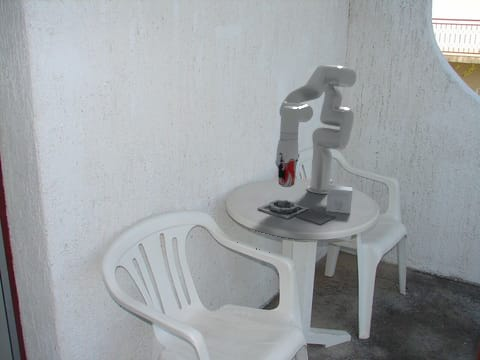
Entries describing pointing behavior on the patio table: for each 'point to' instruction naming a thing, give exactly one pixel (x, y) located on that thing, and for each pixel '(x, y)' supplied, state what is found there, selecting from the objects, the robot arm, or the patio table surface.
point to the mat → (316, 217)
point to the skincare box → (339, 199)
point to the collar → (283, 209)
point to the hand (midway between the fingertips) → (286, 175)
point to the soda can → (288, 174)
